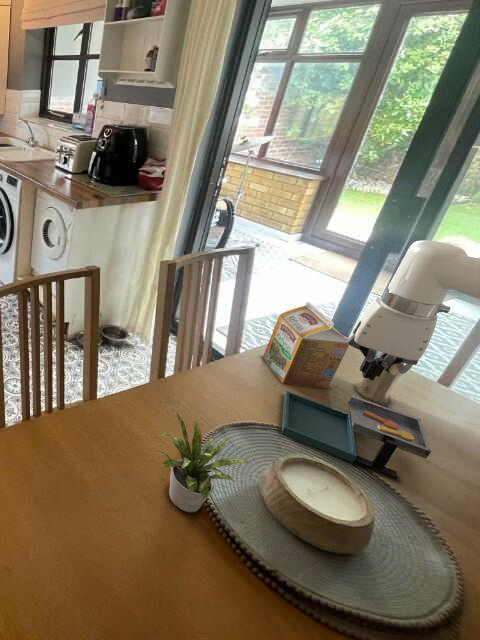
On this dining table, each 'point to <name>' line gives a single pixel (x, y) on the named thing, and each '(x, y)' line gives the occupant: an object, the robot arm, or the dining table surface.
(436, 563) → the dining table surface
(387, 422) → the copper key
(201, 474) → the house plant
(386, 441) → the dish cradle
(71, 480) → the dining table surface
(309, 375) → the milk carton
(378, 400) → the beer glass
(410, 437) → the brass key
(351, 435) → the tray
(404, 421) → the key dish
